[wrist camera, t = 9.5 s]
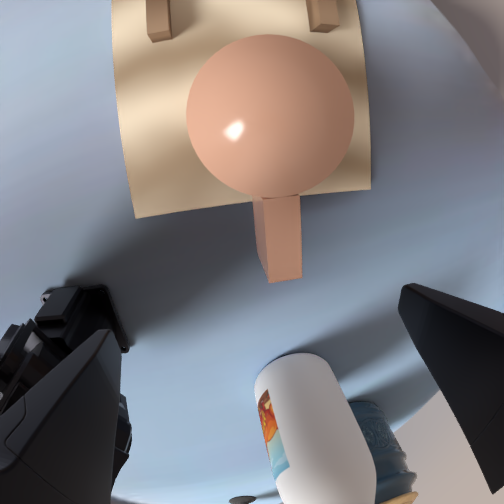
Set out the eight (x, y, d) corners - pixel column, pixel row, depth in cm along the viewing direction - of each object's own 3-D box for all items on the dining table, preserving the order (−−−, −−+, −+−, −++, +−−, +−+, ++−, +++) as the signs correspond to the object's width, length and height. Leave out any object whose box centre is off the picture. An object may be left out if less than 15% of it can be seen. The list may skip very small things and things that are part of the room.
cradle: (364, 186, 21) (385, 196, 18) (138, 214, 19) (128, 229, 17) (341, -36, 14) (358, -52, 11) (116, -26, 12) (104, -44, 9)
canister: (396, 407, 35) (451, 504, 19) (331, 456, 38) (366, 548, 22) (341, 389, 30) (404, 524, 14) (267, 446, 33) (296, 565, 17)
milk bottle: (275, 342, 26) (351, 571, 7) (343, 356, 28) (435, 533, 10) (240, 396, 28) (278, 587, 10) (304, 405, 30) (362, 565, 12)
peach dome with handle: (187, 69, 15) (178, 41, 9) (302, 62, 16) (347, 38, 10) (208, 240, 20) (211, 291, 14) (312, 226, 21) (353, 268, 15)
